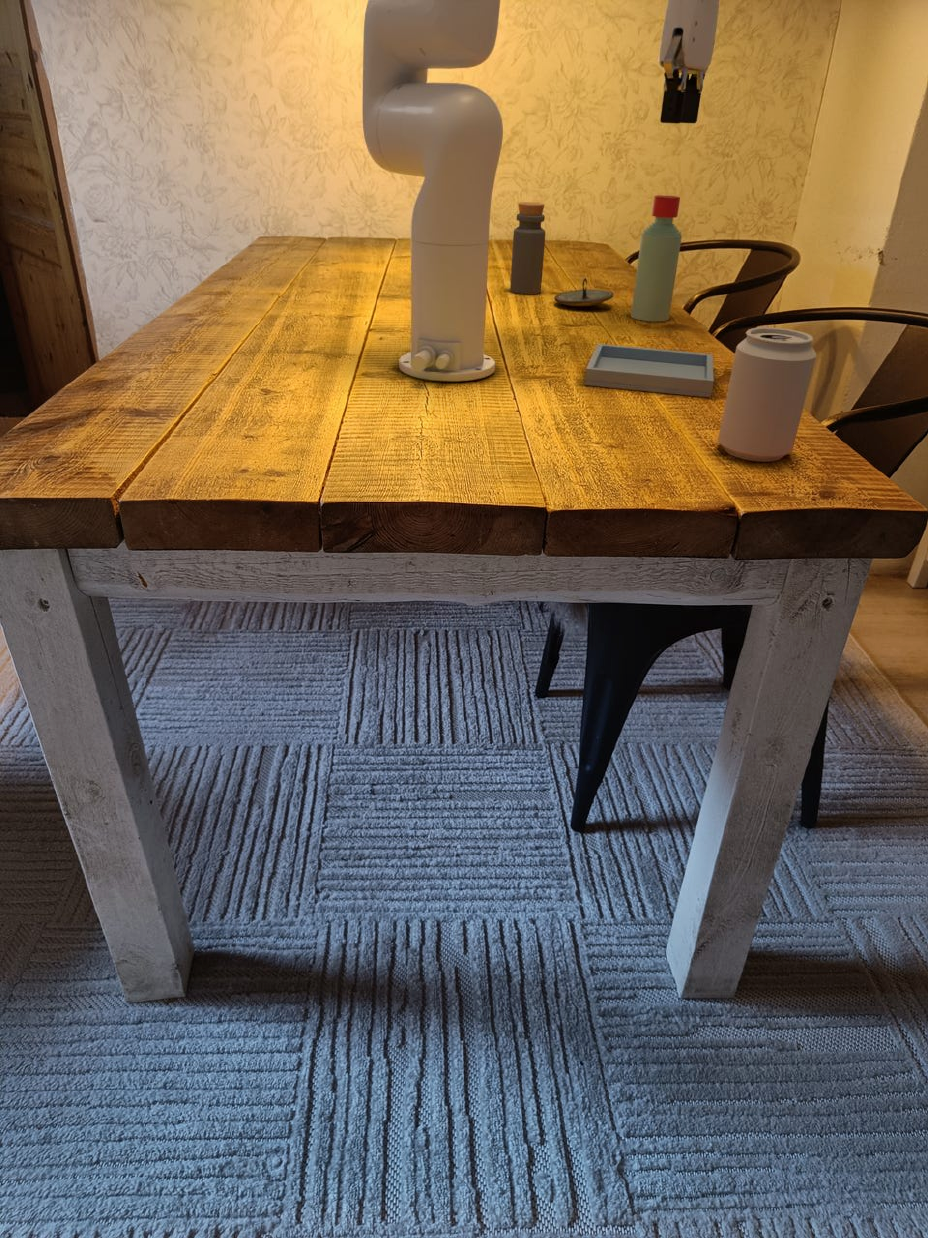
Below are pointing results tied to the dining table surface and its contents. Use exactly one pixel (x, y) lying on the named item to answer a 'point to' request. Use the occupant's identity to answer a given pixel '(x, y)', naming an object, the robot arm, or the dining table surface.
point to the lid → (583, 297)
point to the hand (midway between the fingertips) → (678, 121)
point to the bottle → (528, 250)
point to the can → (766, 393)
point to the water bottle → (656, 271)
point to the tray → (651, 370)
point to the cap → (665, 206)
